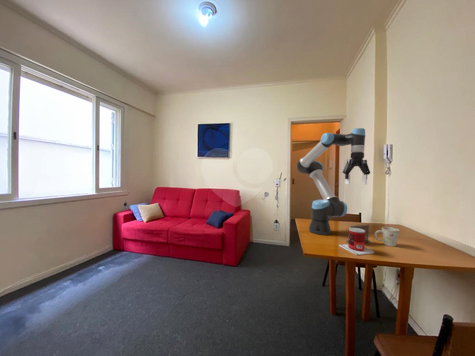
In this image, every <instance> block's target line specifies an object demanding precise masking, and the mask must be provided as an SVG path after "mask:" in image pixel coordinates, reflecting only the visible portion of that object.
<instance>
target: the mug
mask: <svg viewBox="0 0 475 356" xmlns="http://www.w3.org/2000/svg"><path fill="white" fill-rule="evenodd" d="M379 233H382V239H379V238H378V236H377V235H378V234H379ZM399 236H400V229H399V228H396V227H391V226H381V229H379V230H376V231H375V232H374V238H375V239H376V240H377V241H379V242H383V244H384V245H385V246H389V247H396V246H397V243H398V238H399Z"/></svg>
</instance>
